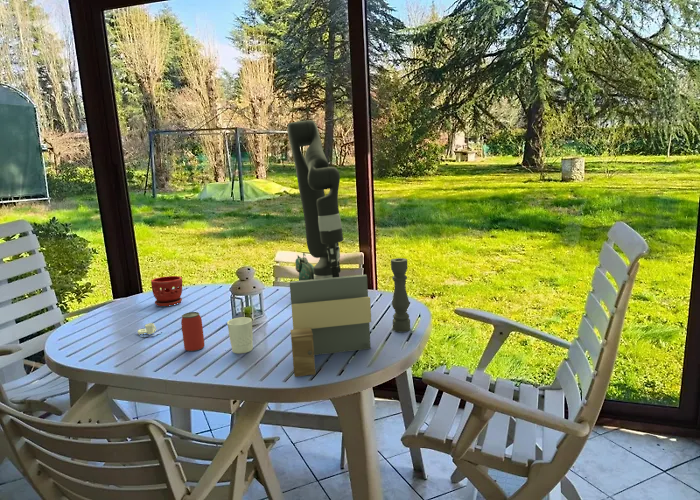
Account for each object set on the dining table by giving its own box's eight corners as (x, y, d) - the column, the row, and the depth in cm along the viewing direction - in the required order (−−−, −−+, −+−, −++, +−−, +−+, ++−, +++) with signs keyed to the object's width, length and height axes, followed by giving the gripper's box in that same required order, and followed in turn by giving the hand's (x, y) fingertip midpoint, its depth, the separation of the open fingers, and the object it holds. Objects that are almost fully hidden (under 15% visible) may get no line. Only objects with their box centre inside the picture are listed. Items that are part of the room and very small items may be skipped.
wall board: (294, 347, 160) (288, 277, 156) (365, 339, 164) (362, 270, 160) (296, 361, 149) (290, 285, 145) (372, 352, 153) (369, 278, 148)
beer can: (187, 345, 168) (183, 312, 166) (206, 343, 169) (202, 310, 166) (182, 352, 162) (178, 318, 160) (202, 351, 162) (198, 316, 160)
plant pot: (178, 307, 215) (175, 281, 213) (149, 309, 215) (145, 282, 213) (188, 299, 228) (185, 274, 225) (161, 300, 228) (157, 275, 226)
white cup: (242, 356, 156) (239, 326, 154) (225, 352, 160) (222, 323, 158) (259, 347, 163) (256, 318, 161) (242, 343, 167) (239, 315, 165)
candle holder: (409, 332, 169) (407, 261, 164) (391, 331, 170) (388, 261, 165) (411, 326, 175) (408, 257, 170) (393, 325, 176) (391, 258, 171)
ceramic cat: (296, 292, 228) (293, 250, 225) (309, 290, 231) (306, 249, 227) (309, 303, 210) (306, 257, 206) (324, 300, 213) (320, 255, 209)
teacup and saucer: (134, 335, 183) (133, 325, 182) (155, 329, 188) (153, 319, 188) (145, 340, 177) (143, 329, 176) (166, 334, 182) (164, 323, 182)
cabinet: (293, 364, 148) (290, 326, 145) (312, 361, 149) (310, 324, 146) (294, 378, 138) (291, 338, 135) (316, 376, 138) (313, 336, 136)
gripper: (321, 226, 169) (327, 272, 172) (317, 232, 155) (324, 281, 158) (342, 224, 169) (348, 269, 171) (340, 229, 155) (347, 278, 157)
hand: (336, 275), depth 165 cm, fingers open, 8 cm apart
